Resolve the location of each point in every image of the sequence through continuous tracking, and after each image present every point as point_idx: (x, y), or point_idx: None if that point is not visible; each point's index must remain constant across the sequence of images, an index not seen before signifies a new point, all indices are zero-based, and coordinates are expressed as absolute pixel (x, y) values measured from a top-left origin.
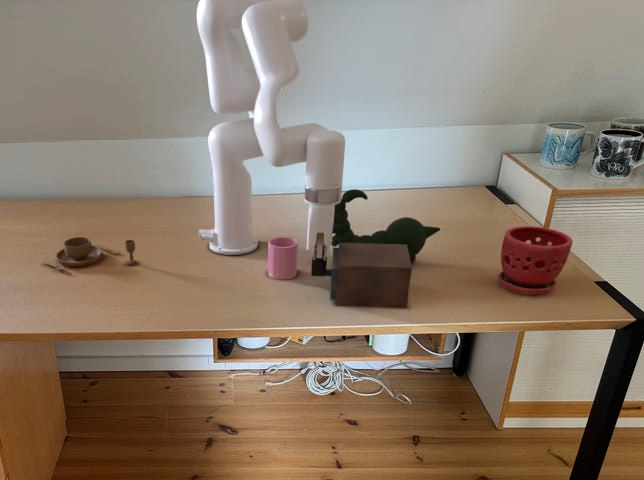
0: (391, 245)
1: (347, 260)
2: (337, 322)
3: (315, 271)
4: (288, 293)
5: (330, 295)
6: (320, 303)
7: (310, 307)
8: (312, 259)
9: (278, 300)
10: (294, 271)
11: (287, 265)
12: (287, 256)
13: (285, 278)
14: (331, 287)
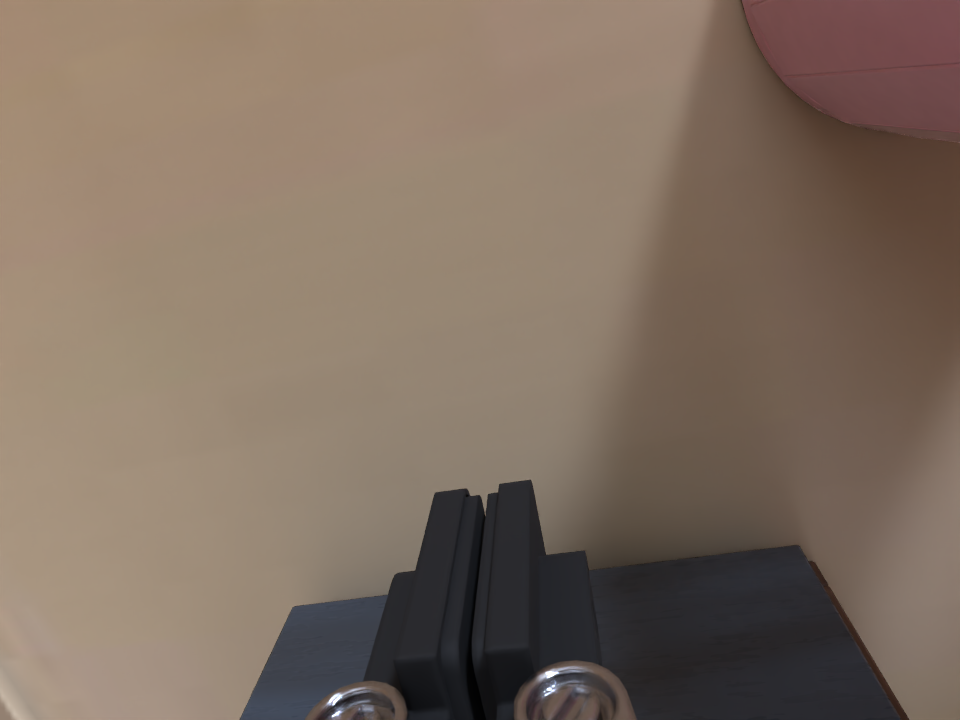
0: None
1: None
2: (33, 666)
3: (395, 588)
4: (378, 173)
5: (279, 636)
6: (281, 510)
7: (171, 447)
8: (397, 664)
9: (174, 111)
10: (869, 126)
11: (835, 30)
12: (914, 7)
13: (752, 26)
14: (249, 707)
